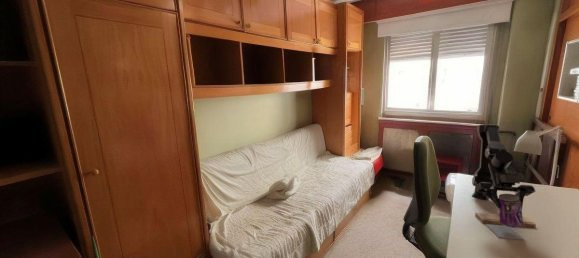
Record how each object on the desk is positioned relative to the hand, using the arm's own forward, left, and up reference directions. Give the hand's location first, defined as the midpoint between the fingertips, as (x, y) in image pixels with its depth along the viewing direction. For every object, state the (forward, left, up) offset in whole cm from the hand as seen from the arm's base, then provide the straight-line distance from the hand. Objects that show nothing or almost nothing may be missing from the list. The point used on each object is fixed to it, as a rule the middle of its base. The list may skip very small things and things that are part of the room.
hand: (510, 209), depth 99 cm
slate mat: (-1, -1, -11) cm, 11 cm away
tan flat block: (-11, -2, -11) cm, 16 cm away
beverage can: (-2, +1, -7) cm, 8 cm away
